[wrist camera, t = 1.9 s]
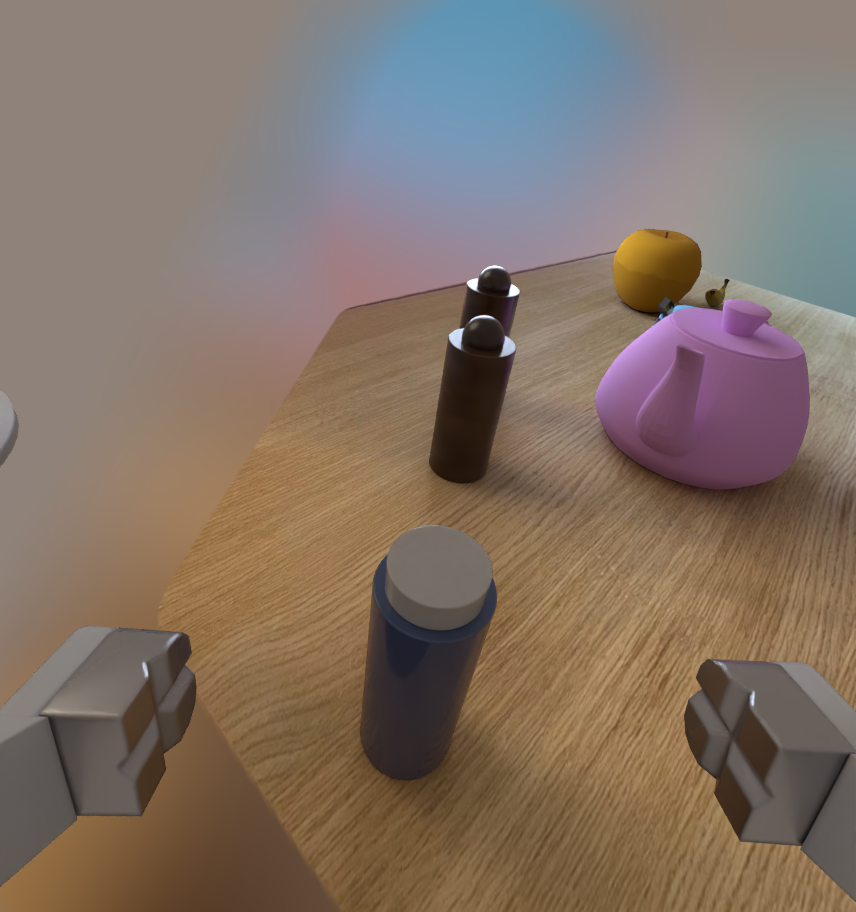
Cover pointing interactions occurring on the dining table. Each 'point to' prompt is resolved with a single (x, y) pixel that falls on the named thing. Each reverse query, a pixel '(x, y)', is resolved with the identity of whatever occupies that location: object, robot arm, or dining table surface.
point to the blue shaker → (423, 647)
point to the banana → (716, 295)
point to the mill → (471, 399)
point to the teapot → (709, 397)
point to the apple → (655, 268)
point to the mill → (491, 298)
